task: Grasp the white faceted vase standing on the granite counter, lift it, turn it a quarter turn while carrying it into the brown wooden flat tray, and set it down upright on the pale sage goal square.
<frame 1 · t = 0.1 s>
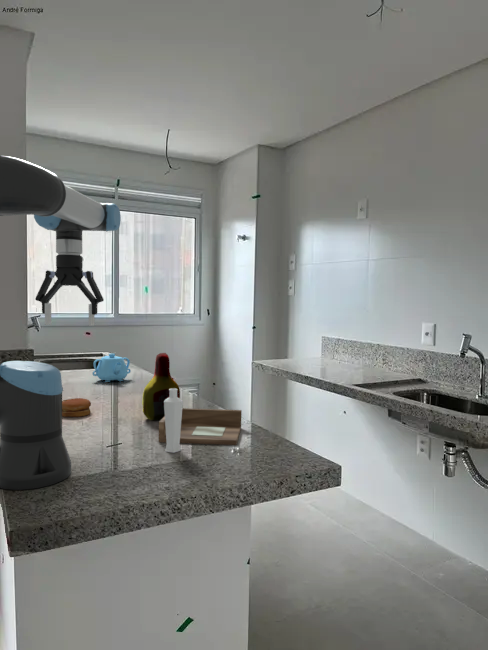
hand: (69, 325, 150), 28 cm above the worktop, fingers open, 13 cm apart
brown wooden flat tray: (202, 434, 133), on the worktop
teapot: (112, 381, 212), on the worktop
bottle: (161, 418, 150), on the worktop
white faceted vase: (172, 451, 120), on the worktop
burger: (75, 415, 154), on the worktop
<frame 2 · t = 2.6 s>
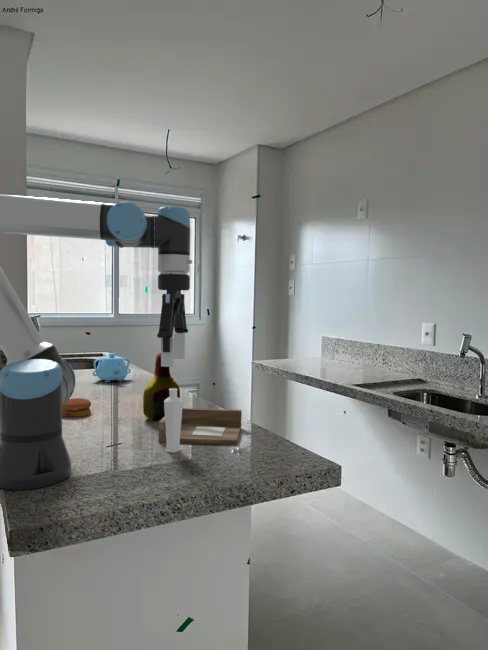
hand: (173, 362, 118), 21 cm above the worktop, fingers open, 13 cm apart
nothing on the worktop moved.
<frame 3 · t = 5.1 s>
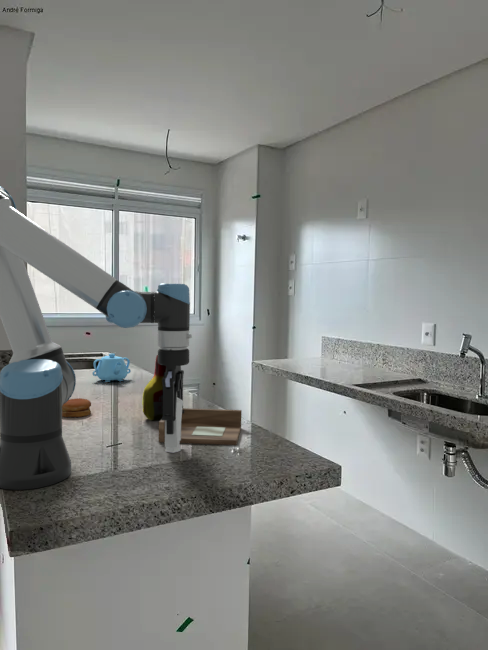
hand: (173, 443, 120), 2 cm above the worktop, fingers closed on white faceted vase, 5 cm apart
white faceted vase: (172, 451, 120), on the worktop, touching gripper
everything else where it was.
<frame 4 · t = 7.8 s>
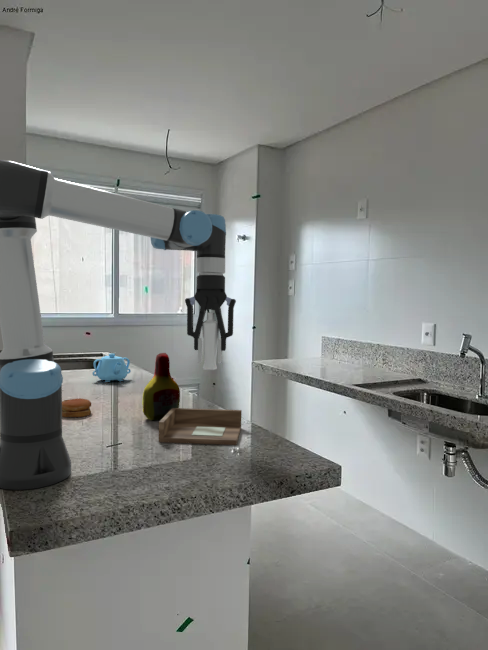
hand: (209, 362, 131), 20 cm above the worktop, fingers closed on white faceted vase, 5 cm apart
white faceted vase: (210, 369, 131), point 18 cm above the worktop, touching gripper
everything else where it was.
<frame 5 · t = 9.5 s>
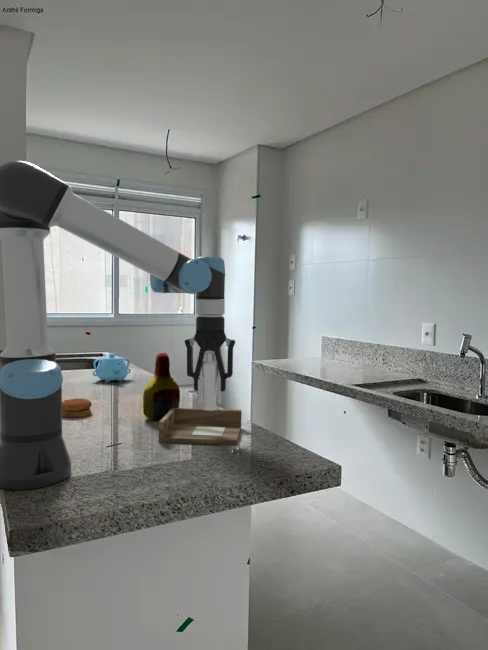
hand: (209, 402, 132), 9 cm above the worktop, fingers closed on white faceted vase, 5 cm apart
white faceted vase: (210, 409, 132), point 7 cm above the worktop, touching gripper
everything else where it was.
when the fingers open (4 cm above the worktop, at t = 10.8 s): white faceted vase drops 1 cm, resting on brown wooden flat tray.
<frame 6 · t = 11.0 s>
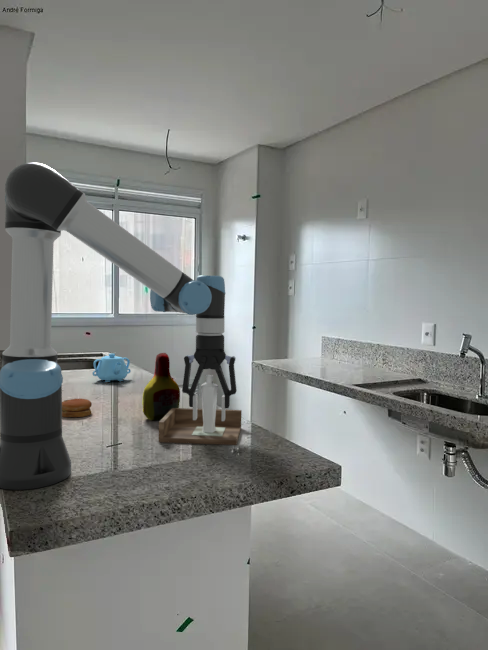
hand: (209, 419, 132), 5 cm above the worktop, fingers open, 7 cm apart
white faceted vase: (209, 431, 132), point 1 cm above the worktop, touching brown wooden flat tray
everything else where it was.
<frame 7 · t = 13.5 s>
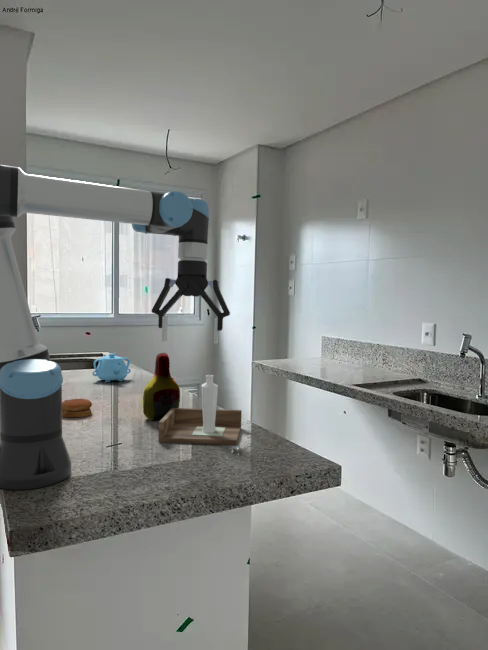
hand: (189, 342, 129), 25 cm above the worktop, fingers open, 13 cm apart
nothing on the worktop moved.
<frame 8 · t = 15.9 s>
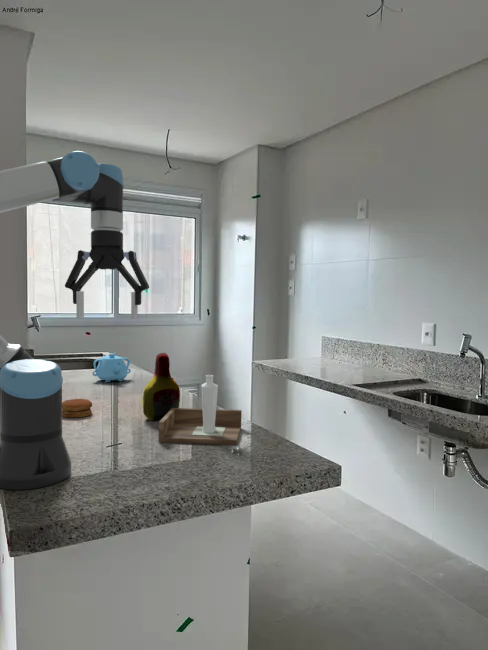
hand: (107, 318, 121), 32 cm above the worktop, fingers open, 13 cm apart
at the end: white faceted vase inside the target area (0.1 cm from its centre), point 1.2 cm above the worktop; white faceted vase tilted 0°; the gripper is holding nothing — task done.
